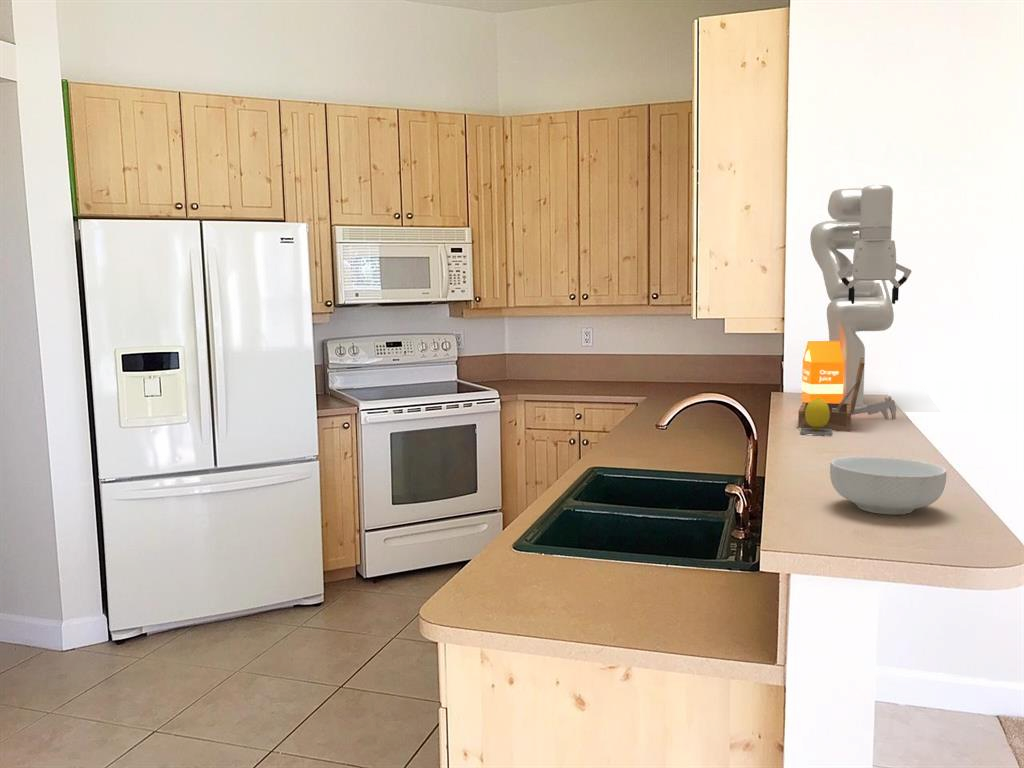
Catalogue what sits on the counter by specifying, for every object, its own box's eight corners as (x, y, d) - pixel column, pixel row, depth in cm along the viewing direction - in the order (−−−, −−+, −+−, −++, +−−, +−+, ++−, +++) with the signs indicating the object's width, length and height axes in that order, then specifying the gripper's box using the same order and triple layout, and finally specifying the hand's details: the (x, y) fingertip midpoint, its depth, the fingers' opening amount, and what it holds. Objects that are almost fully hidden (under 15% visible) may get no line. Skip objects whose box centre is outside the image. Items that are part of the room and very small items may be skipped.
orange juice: (842, 415, 239) (844, 341, 237) (809, 415, 239) (811, 342, 237) (832, 411, 247) (834, 340, 245) (800, 411, 247) (802, 340, 245)
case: (802, 418, 234) (803, 356, 232) (861, 421, 228) (863, 357, 227) (798, 429, 217) (799, 361, 215) (862, 432, 211) (864, 363, 210)
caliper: (894, 419, 233) (894, 396, 232) (895, 420, 232) (896, 396, 231) (815, 420, 233) (816, 396, 233) (816, 420, 232) (817, 396, 232)
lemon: (823, 433, 207) (824, 399, 206) (800, 430, 211) (801, 397, 210) (833, 430, 211) (834, 397, 210) (810, 427, 215) (811, 395, 214)
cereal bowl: (959, 525, 128) (962, 477, 128) (839, 520, 131) (841, 474, 131) (926, 498, 145) (928, 455, 144) (820, 494, 148) (821, 453, 147)
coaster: (801, 430, 215) (801, 427, 215) (832, 431, 213) (832, 429, 213) (800, 434, 209) (800, 432, 209) (831, 436, 206) (831, 433, 206)
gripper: (838, 235, 222) (836, 304, 224) (913, 233, 216) (911, 304, 218) (838, 237, 229) (836, 303, 231) (911, 235, 223) (909, 303, 225)
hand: (872, 303), depth 224 cm, fingers open, 9 cm apart
